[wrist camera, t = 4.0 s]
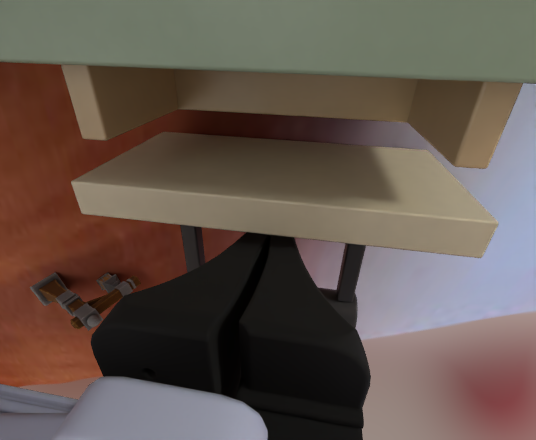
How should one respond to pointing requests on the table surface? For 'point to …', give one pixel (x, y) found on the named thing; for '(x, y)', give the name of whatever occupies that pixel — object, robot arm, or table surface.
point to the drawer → (294, 161)
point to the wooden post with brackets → (83, 311)
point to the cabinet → (281, 36)
